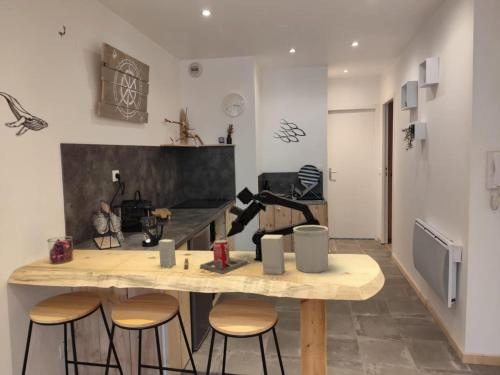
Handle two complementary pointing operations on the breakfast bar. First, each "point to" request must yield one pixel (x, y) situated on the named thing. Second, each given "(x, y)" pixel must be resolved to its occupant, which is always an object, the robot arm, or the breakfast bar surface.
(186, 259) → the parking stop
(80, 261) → the breakfast bar surface
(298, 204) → the robot arm
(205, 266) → the plate
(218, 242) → the soda can
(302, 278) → the breakfast bar surface
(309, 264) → the utensil holder
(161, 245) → the skincare box
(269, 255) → the skincare box
